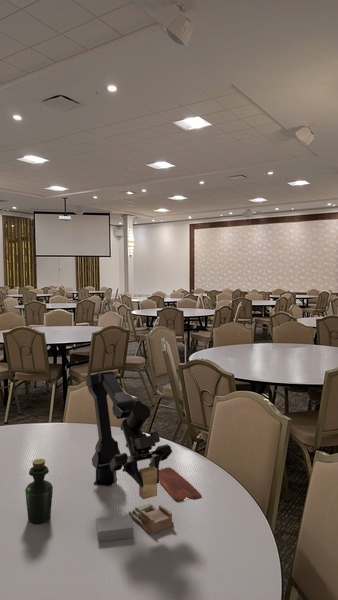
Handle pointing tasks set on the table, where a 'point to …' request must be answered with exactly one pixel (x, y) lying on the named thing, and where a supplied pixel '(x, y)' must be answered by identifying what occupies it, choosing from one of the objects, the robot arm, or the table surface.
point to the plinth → (114, 528)
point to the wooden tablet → (177, 485)
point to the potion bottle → (39, 494)
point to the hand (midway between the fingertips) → (150, 485)
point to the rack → (152, 517)
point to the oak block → (148, 482)
